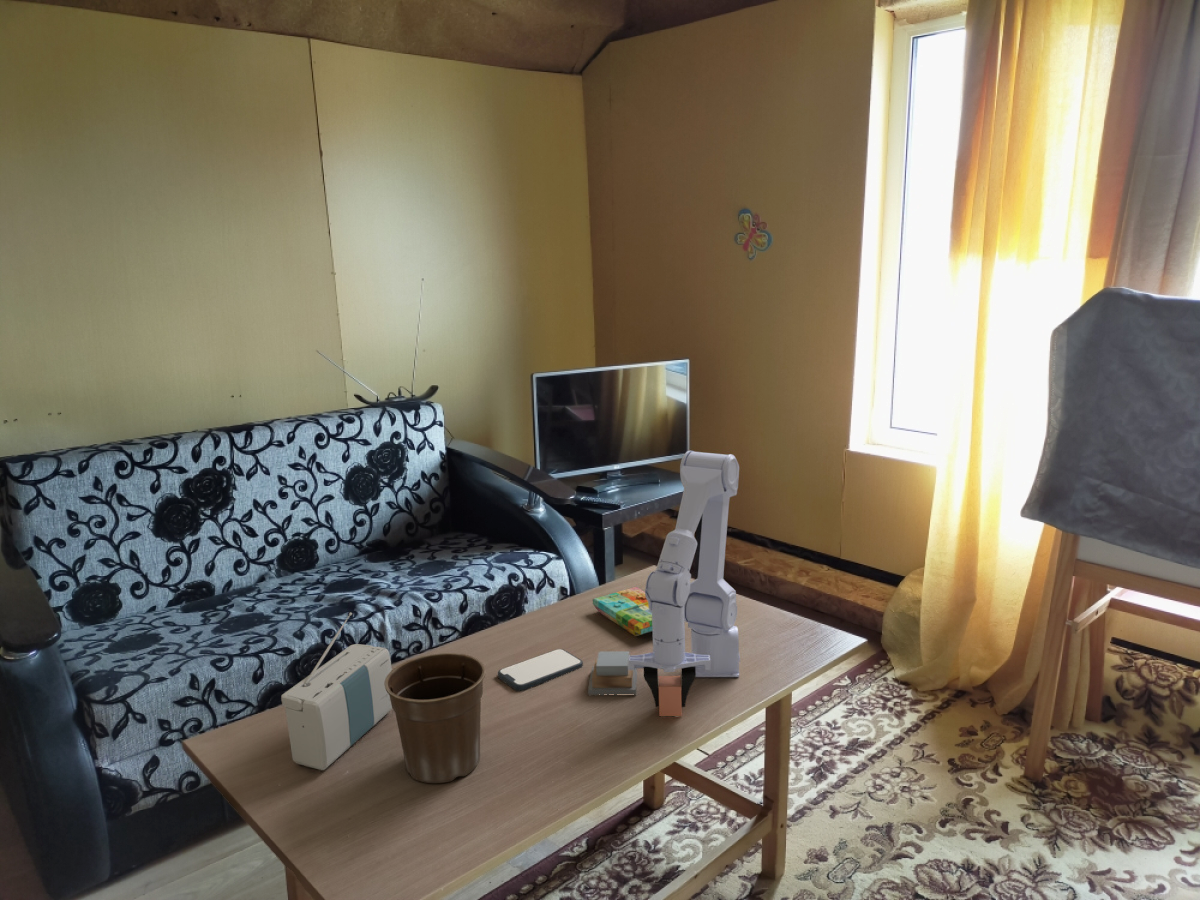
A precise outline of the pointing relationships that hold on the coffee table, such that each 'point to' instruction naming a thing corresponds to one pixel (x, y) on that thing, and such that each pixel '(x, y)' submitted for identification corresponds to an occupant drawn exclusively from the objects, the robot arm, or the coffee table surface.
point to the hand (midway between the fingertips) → (670, 704)
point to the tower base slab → (613, 690)
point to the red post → (670, 696)
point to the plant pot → (438, 714)
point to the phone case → (539, 669)
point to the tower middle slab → (611, 680)
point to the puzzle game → (627, 610)
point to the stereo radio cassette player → (337, 703)
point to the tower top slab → (613, 663)
